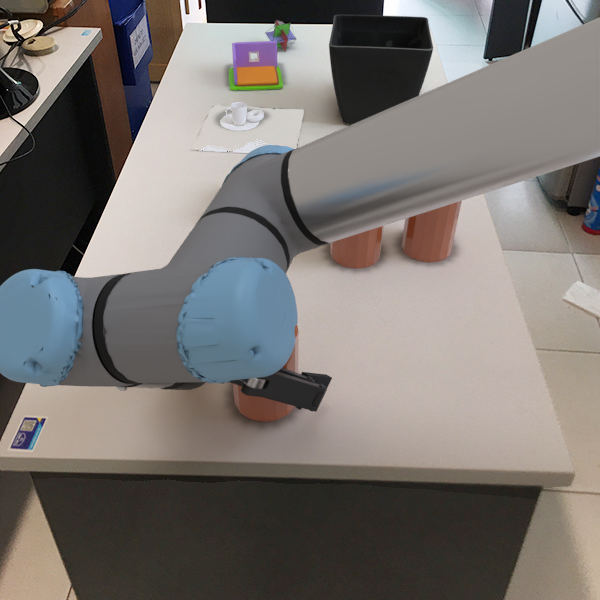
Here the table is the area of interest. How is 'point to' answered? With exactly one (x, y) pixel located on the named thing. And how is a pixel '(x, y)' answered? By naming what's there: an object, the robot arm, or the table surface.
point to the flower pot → (377, 62)
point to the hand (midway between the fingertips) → (278, 360)
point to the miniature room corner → (255, 66)
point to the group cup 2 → (431, 233)
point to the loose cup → (262, 406)
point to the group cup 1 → (358, 249)
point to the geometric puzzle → (281, 34)
